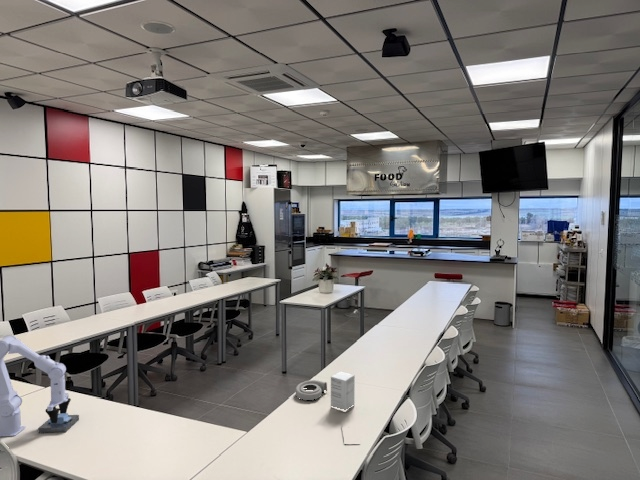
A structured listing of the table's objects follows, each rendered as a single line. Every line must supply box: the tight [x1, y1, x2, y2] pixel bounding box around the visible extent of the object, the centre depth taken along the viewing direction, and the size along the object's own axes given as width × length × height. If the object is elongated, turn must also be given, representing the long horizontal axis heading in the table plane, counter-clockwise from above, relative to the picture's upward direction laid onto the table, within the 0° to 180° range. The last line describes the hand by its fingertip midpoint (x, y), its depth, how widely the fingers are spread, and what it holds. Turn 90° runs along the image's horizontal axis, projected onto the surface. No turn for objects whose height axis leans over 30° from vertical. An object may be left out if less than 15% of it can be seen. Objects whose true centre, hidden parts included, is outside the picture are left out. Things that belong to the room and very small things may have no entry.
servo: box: [46, 412, 71, 424], centre depth 196 cm, size 9×4×5 cm, turn 94°
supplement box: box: [330, 371, 355, 410], centre depth 216 cm, size 10×9×17 cm
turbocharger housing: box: [295, 379, 328, 401], centre depth 231 cm, size 17×6×15 cm
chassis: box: [37, 414, 80, 434], centre depth 196 cm, size 12×12×2 cm
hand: (58, 418), depth 196 cm, fingers open, 7 cm apart
